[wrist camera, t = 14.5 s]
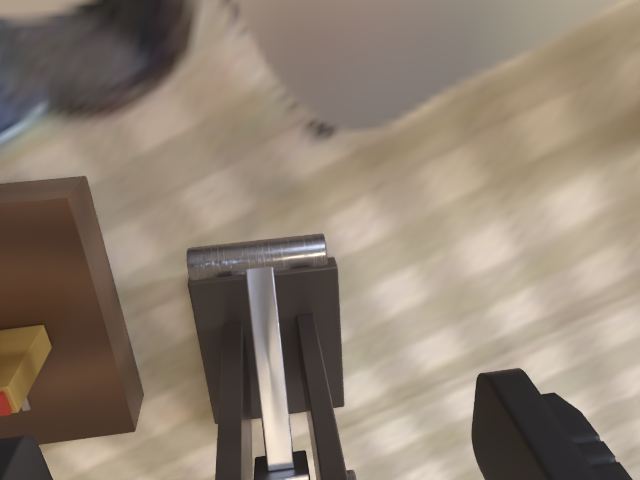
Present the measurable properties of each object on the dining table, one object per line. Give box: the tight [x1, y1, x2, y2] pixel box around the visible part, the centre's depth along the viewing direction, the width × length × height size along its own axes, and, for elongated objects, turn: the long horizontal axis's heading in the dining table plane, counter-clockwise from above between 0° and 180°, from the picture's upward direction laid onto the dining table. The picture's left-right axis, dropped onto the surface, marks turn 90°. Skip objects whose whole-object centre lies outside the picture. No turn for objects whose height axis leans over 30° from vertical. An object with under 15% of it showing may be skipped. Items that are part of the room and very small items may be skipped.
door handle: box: [187, 234, 327, 480], centre depth 22 cm, size 12×6×2 cm, turn 3°
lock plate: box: [0, 176, 144, 445], centre depth 28 cm, size 14×10×3 cm
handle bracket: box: [188, 257, 356, 480], centre depth 26 cm, size 10×8×13 cm
